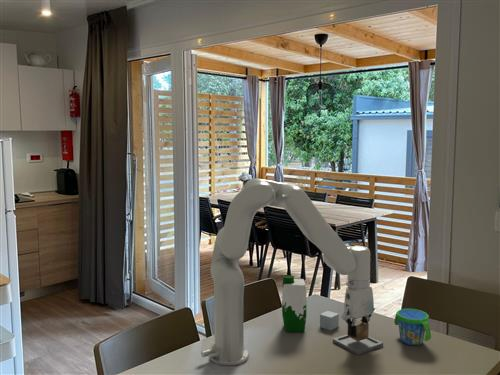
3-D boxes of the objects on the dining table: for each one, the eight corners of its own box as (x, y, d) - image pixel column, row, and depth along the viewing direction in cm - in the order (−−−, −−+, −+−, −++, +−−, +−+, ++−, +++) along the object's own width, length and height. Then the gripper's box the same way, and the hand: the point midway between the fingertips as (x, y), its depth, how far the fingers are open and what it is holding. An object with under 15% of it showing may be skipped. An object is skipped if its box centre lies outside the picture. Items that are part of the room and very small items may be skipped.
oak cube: (357, 341, 164) (358, 327, 163) (347, 336, 168) (347, 322, 167) (368, 337, 166) (368, 324, 166) (357, 332, 171) (358, 319, 170)
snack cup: (439, 349, 163) (440, 320, 162) (412, 353, 160) (413, 324, 159) (410, 331, 178) (411, 304, 177) (385, 335, 175) (386, 307, 174)
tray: (357, 355, 159) (357, 351, 159) (332, 341, 169) (332, 338, 169) (383, 346, 166) (383, 342, 165) (357, 334, 176) (357, 330, 176)
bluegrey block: (331, 330, 179) (331, 317, 179) (319, 327, 183) (320, 314, 182) (338, 326, 183) (338, 313, 182) (327, 323, 186) (327, 310, 186)
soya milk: (281, 323, 186) (281, 273, 184) (305, 323, 186) (305, 273, 184) (282, 333, 177) (282, 280, 175) (307, 333, 177) (307, 280, 175)
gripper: (347, 290, 157) (347, 343, 159) (384, 281, 166) (383, 331, 168) (332, 284, 164) (332, 335, 166) (368, 275, 173) (367, 324, 175)
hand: (358, 333), depth 167 cm, fingers closed on oak cube, 5 cm apart
